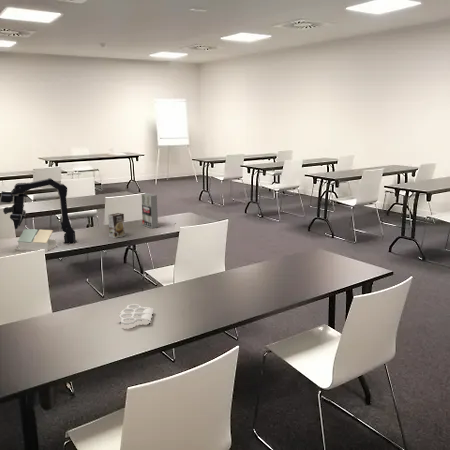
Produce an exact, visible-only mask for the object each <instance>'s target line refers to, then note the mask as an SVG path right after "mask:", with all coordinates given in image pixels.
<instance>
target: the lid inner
mask: <svg viewBox="0 0 450 450" xmlns="http://www.w3.org/2000/svg"><path fill="white" fill-rule="evenodd" d="M53 232H54V230H52V229H38V232H37V233H36V235H35V237H34V238H35V239H34V240H33V243H47V242H48V240H49V239H51V236H52V234H53Z"/></svg>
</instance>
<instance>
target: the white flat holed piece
mask: <svg viewBox="0 0 450 450" xmlns="http://www.w3.org/2000/svg"><path fill="white" fill-rule="evenodd" d="M130 307H138V308H135V309H133V308H130ZM138 310H143V312H136V311H138ZM153 310H154V311H155V309H154V308H153V307H149V306H141V305H140V304H138V303H131V304H127V305H126V307H125V308H124V309H122V310H121V311H120V313H121V314H120V315H119V314H118V316H119V317H120V319H121V324H124V325H129V324H134V323H135V322H137V321H142V320H148V321H151V322H152V320H151V317H152V318H153V316H152V314H153V315H154V313H153ZM125 311H133V312H131V313H125ZM126 315H131V317H126V318H123V316H126ZM136 315H138V316H141V318H135V317H134V316H136ZM119 317H118V318H119ZM129 319H130V320H134V321H131V322H124V321H125V320H129ZM121 324H120V325H121Z"/></svg>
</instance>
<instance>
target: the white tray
mask: <svg viewBox="0 0 450 450" xmlns="http://www.w3.org/2000/svg"><path fill="white" fill-rule="evenodd" d="M34 239H35V237H34ZM34 239H33V240H34ZM56 240H57V238H56V239H55V238H49V240H48V242H47V243H33V241H32V243H28V242H18V241H17V245H18V248H17V250H18V251H30V252H36V251H35V250H40V249H45V251H44V252H48V250H49V251H50V250H53V249H54V248H56V247H58V244H57V241H56Z"/></svg>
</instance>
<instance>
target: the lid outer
mask: <svg viewBox="0 0 450 450" xmlns="http://www.w3.org/2000/svg"><path fill="white" fill-rule="evenodd" d="M38 231H39V229H35V228H33V229H32V228H24V229H23V231H22V233H21V234H20V236H19V238H18V239H17V243H18V242H28V243H32V241H33V239H34V238H35V237H36V235H37V233H38Z"/></svg>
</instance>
